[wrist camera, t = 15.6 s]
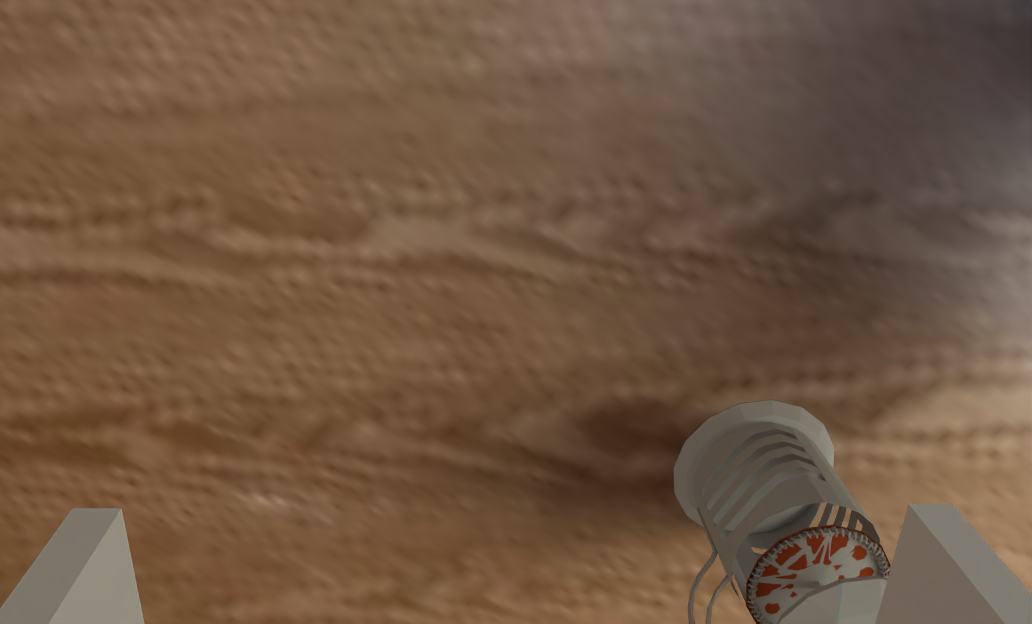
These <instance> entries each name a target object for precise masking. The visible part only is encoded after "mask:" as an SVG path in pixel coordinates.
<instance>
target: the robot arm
mask: <svg viewBox="0 0 1032 624" xmlns="http://www.w3.org/2000/svg"><path fill="white" fill-rule="evenodd" d="M0 624H144V619H143V614H142V609H141V604H140V599H139V594H138V589H137V584H136V579H135V574H134V569H133V564H132V559H131V554H130V549H129V544H128V539H127V534H126V529H125V524H124V519H123V513H122V508H72V510H71V511H70V513H69V514H68V515H67V517H66V518H65V519H64V521H63V522H62V524H61V525H60V526H59V528H58V529H57V531H56V532H55V533H54V535H53V536H52V538H51V539H50V540H49V542H48V543H47V544H46V546H45V547H44V549H43V550H42V551H41V553H40V554H39V556H38V557H37V558H36V560H35V561H34V563H33V564H32V565H31V567H30V568H29V569H28V571H27V572H26V574H25V575H24V576H23V578H22V579H21V581H20V582H19V583H18V585H17V586H16V588H15V589H14V590H13V592H12V593H11V594H10V596H9V597H8V599H7V600H6V601H5V603H4V604H3V606H2V607H1V608H0ZM875 624H1032V594H1031V593H1030V592H1029V591H1028V589H1027V588H1026V587H1025V586H1024V585H1023V584H1022V583H1021V582H1020V580H1019V579H1018V578H1017V577H1016V576H1015V575H1014V574H1013V573H1012V571H1011V570H1010V569H1009V568H1008V567H1007V566H1006V565H1005V563H1004V562H1003V561H1002V560H1001V559H1000V558H999V557H998V556H997V554H996V553H995V552H994V551H993V550H992V549H991V548H990V546H989V545H988V544H987V543H986V542H985V541H984V540H983V539H982V537H981V536H980V535H979V534H978V533H977V532H976V531H975V530H974V528H973V527H972V526H971V525H970V524H969V523H968V522H967V520H966V519H965V518H964V517H963V516H962V515H961V514H960V513H959V511H958V510H957V509H956V508H955V507H954V506H953V505H952V504H908V508H907V512H906V515H905V519H904V522H903V526H902V529H901V533H900V537H899V540H898V544H897V547H896V551H895V555H894V558H893V562H892V565H891V569H890V572H889V576H888V580H887V583H886V587H885V590H884V594H883V598H882V601H881V605H880V608H879V612H878V615H877V619H876V623H875Z"/></svg>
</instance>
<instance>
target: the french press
mask: <svg viewBox="0 0 1032 624" xmlns="http://www.w3.org/2000/svg"><path fill="white" fill-rule="evenodd" d="M834 449H835V448H834V446H833V444H832V441H831V439H830V437H829V435H828V432H827V430H826V428H825V426H824V424H823V423H822V422H820V421H819V420H818V419H816V418H815V417H814V416H813V415H811V414H810V413H809V412H807V411H806V410H805V409H804V408H802V407H799V406H795V405H791V404H787V403H783V402H779V401H775V400H766V401H757V402H749V403H741V404H737V405H735V406H733V407H731V408H729V409H727V410H725V411H723V412H720V413H718V414H716V415H714V416H712V417H710V418H708V419H707V420H706V421H705V422H704V423H703V424H702V425H701V426H700V427H699V428H698V429H697V430H696V431H695V432H694V433H693V434H692V435H691V436H690V437H689V438H688V439H687V440H686V441H685V443H684V445H683V447H682V450H681V452H680V454H679V457H678V459H677V461H676V463H675V466H674V494H675V496H676V498H677V500H678V501H679V503H680V505H681V507H682V508H683V510H684V512H685V514H686V515H687V517H689V518H690V519H692V520H693V521H695V522H696V523H698V524H699V525H701V526H702V527H704V530H705V532H706V535H707V537H708V539H709V542H710V544H711V547H712V549H713V552H712V555H711V557H710V559H709V560H708V561H707V563H706V564H705V565H704V567H703V568H702V569H701V571H700V572H699V573H698V575H697V577H696V579H695V581H694V583H693V585H692V588H691V591H690V597H689V603H688V618H689V624H695V621H694V617H693V605H694V593H695V591H696V589H697V587H698V585H699V582H700V580H701V578H702V577H703V575H704V574H705V573H706V571H707V570H708V569H709V567H710V566H711V564H712V563H713V562H714V560H715V559H716V556H717V553H718V555H719V557H720V559H721V562H722V564H723V566H724V569H725V571H726V574H727V575H726V576H725V578H724V579H723V581H722V582H721V583H720V585H719V586H718V587H717V589H716V590H715V592H714V594H713V596H712V599H711V601H710V603H709V606H708V608H707V616H706V624H711V611H712V607H713V605H714V603H715V601H716V598H717V596H718V594H719V593H720V591H721V590H722V589H723V588H724V586H725V585H726V584H727V582H728V581H730V583H731V585H732V587H733V589H734V591H735V592H736V594H737V591H736V589H735V587H734V584H733V582H732V575H733V574H734V577H735V579H736V581H737V584H738V586H739V588H740V590H741V593H742V595H743V597H744V600H745V602H746V606H747V608H748V610H749V612H750V613H751V615H752V617H753V619H754V620H755V622H756V624H875V623H876V619H877V615H878V612H879V608H880V605H881V601H882V598H883V594H884V590H885V587H886V583H887V580H888V576H889V572H890V563H889V561H888V559H887V557H886V554H885V552H884V550H883V548H882V546H881V541H880V537H879V535H878V533H877V531H876V529H875V528H874V526H873V524H872V523H871V521H870V520H869V518H868V517H867V516H866V514H865V513H864V511H863V510H862V508H861V507H860V506H859V504H858V503H857V501H856V500H855V499H854V497H853V496H852V494H851V493H850V492H849V490H848V489H847V487H846V486H845V485H844V483H843V482H842V480H841V479H840V478H839V476H838V475H837V473H836V472H835V471H834V469H833V464H834ZM822 502H826V503H827V505H826V508H825V511H824V513H823V516H822V518H821V520H820V523H819V525H818V527H811V525H812V523H813V521H814V519H815V517H816V515H817V513H818V511H819V508H820V505H821V503H822ZM834 505H838V506H840V507H839V510H838V513H837V516H836V519H835V521H834V524H833V525H828V526H827V524H828V521H829V519H830V516H831V513H832V510H833V507H834ZM846 508H848V509H851V510H852V511H851V516H850V520H849V524H848V527H847V528H845V527H841V525H842V522H843V519H844V516H845V512H846ZM857 518H858V520H859V521H860V523H861V524H862V525H863V527H862V531H858V530H855V527H856V523H857ZM810 527H811V528H810ZM751 547H755V548H760V549H765V550H767V551H766V552H765V553H764V554H758V553H753V551H752V549H751ZM737 596H738V594H737ZM738 597H739V596H738ZM739 599H740V598H739Z"/></svg>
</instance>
